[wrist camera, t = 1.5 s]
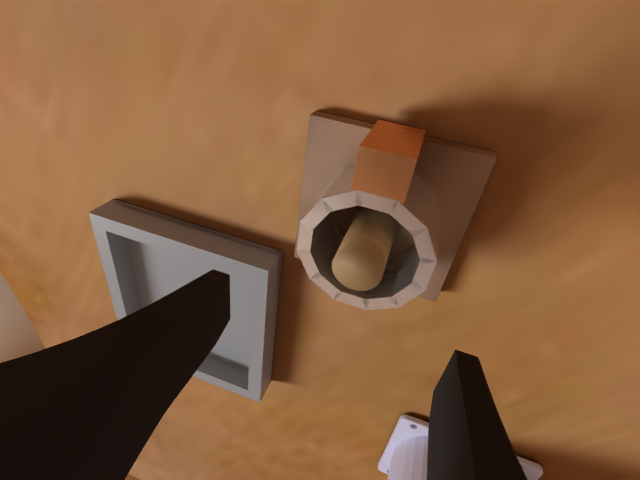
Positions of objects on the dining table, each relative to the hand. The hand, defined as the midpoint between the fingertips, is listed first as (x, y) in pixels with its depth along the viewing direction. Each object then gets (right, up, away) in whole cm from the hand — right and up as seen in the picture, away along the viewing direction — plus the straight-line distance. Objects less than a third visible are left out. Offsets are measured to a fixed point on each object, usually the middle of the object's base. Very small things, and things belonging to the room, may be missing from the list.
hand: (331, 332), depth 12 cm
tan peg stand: (+3, +4, +7) cm, 9 cm away
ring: (+3, +4, +6) cm, 8 cm away
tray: (-9, -1, +15) cm, 18 cm away
